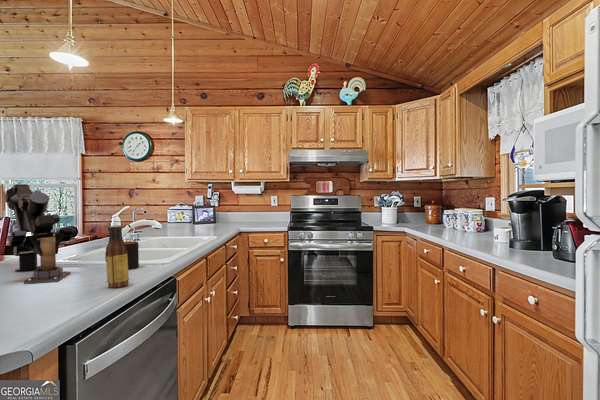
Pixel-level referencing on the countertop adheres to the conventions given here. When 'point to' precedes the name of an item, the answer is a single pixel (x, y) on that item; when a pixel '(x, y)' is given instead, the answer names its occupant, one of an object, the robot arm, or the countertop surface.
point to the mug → (132, 254)
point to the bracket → (47, 276)
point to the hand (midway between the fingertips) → (49, 254)
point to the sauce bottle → (116, 259)
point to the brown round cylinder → (48, 254)
